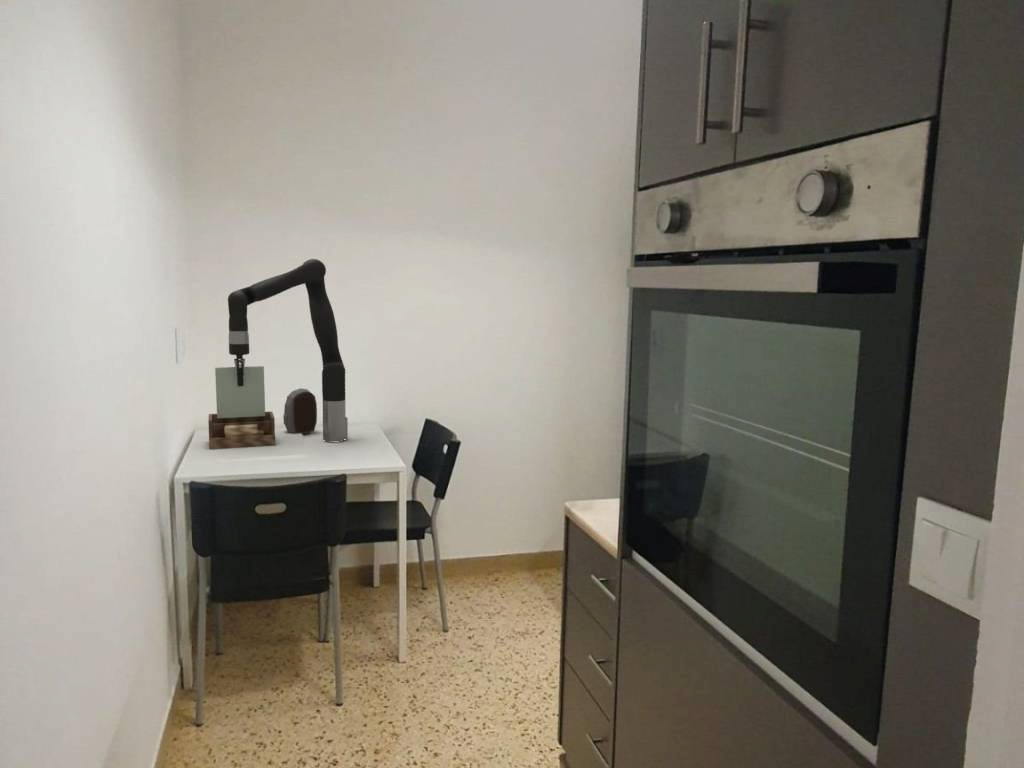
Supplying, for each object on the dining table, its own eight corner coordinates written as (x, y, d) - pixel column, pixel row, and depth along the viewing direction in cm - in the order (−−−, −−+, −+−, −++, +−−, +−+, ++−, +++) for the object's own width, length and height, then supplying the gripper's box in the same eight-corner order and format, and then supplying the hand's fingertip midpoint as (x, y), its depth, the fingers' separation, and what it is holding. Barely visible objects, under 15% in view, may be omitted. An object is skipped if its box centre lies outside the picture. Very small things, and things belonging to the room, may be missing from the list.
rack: (272, 441, 300) (272, 411, 298) (275, 449, 287) (274, 418, 285) (209, 444, 291) (208, 414, 289) (209, 453, 278) (208, 421, 276)
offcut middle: (262, 435, 292) (262, 429, 291) (263, 438, 287) (263, 432, 287) (224, 438, 286) (224, 431, 285) (225, 440, 281) (225, 434, 281)
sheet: (264, 415, 295) (263, 366, 292) (265, 415, 293) (263, 366, 290) (217, 417, 288) (215, 367, 285) (217, 418, 287) (215, 368, 283)
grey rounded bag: (289, 437, 306) (288, 391, 303) (279, 434, 312) (278, 388, 309) (320, 432, 317) (320, 387, 314) (310, 429, 323) (310, 385, 320)
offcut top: (257, 430, 290) (257, 424, 289) (257, 433, 285) (257, 426, 285) (225, 431, 286) (225, 425, 286) (224, 434, 281) (224, 428, 281)
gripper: (249, 343, 281) (251, 388, 284) (248, 340, 294) (249, 382, 297) (229, 344, 279) (230, 388, 281) (228, 340, 291) (230, 383, 294)
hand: (240, 385), depth 289 cm, fingers closed on sheet, 2 cm apart
